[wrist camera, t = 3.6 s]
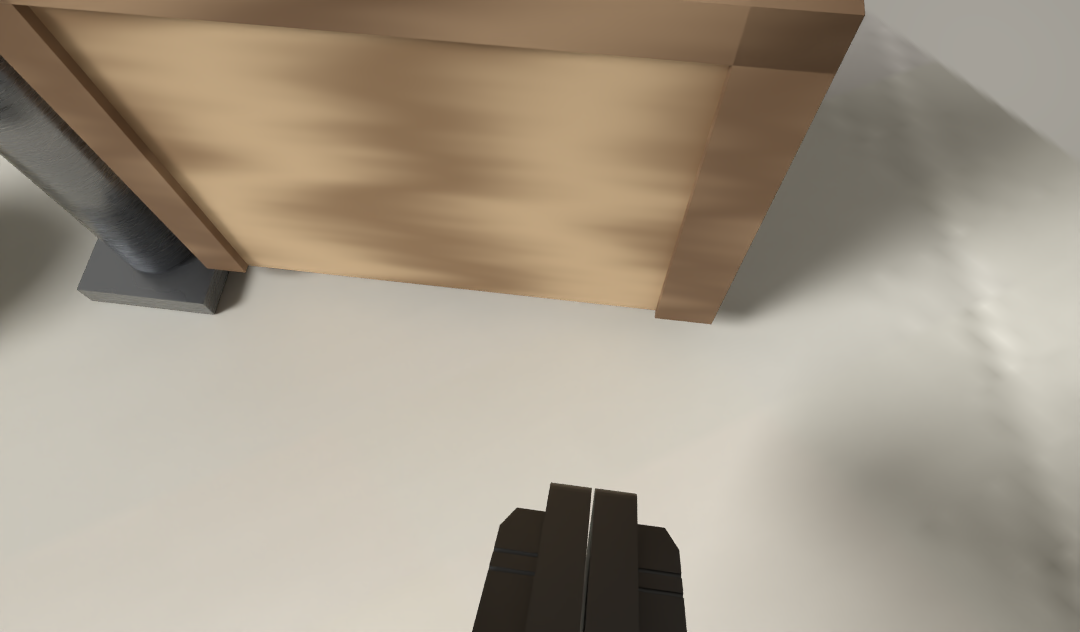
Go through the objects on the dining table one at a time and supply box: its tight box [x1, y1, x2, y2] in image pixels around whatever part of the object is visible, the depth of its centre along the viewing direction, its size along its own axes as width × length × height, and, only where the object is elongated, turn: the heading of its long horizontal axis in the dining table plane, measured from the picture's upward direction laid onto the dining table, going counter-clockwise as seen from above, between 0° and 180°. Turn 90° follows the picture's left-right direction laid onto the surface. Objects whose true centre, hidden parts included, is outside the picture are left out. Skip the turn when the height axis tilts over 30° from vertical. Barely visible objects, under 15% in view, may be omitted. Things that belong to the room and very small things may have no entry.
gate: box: [0, 0, 865, 324], centre depth 17 cm, size 15×2×11 cm, turn 82°
